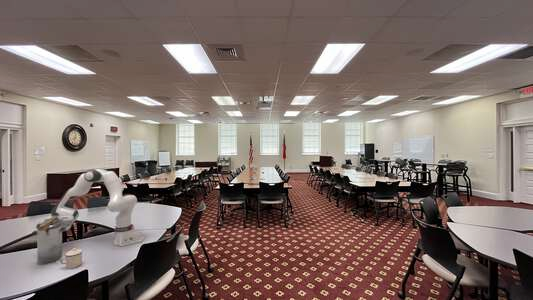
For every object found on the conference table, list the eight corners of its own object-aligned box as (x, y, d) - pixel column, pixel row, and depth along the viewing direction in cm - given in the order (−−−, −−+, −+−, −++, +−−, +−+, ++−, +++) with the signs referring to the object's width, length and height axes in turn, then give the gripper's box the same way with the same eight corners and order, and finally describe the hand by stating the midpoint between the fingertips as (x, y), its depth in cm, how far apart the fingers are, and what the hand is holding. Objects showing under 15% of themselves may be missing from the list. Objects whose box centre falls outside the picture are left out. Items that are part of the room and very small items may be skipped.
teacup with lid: (83, 260, 166) (83, 244, 165) (81, 266, 158) (81, 249, 158) (61, 265, 159) (60, 248, 159) (58, 271, 151) (58, 254, 151)
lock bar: (59, 218, 179) (59, 212, 179) (44, 230, 154) (44, 223, 154) (54, 218, 178) (54, 212, 178) (38, 230, 153) (38, 223, 153)
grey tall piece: (68, 253, 177) (68, 216, 176) (62, 261, 164) (62, 222, 163) (38, 258, 169) (37, 220, 168) (29, 267, 156) (28, 226, 155)
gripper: (43, 220, 181) (36, 215, 170) (76, 216, 190) (71, 212, 179) (41, 228, 178) (34, 224, 167) (75, 224, 188) (70, 220, 177)
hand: (54, 218), depth 173 cm, fingers closed on lock bar, 3 cm apart
